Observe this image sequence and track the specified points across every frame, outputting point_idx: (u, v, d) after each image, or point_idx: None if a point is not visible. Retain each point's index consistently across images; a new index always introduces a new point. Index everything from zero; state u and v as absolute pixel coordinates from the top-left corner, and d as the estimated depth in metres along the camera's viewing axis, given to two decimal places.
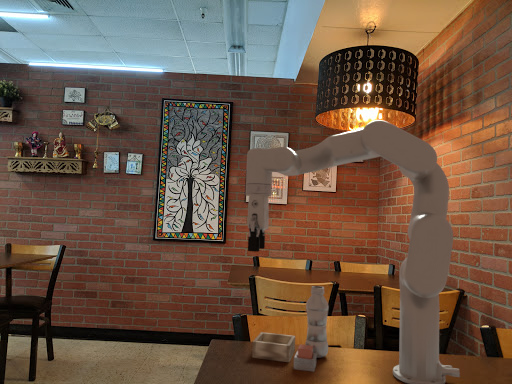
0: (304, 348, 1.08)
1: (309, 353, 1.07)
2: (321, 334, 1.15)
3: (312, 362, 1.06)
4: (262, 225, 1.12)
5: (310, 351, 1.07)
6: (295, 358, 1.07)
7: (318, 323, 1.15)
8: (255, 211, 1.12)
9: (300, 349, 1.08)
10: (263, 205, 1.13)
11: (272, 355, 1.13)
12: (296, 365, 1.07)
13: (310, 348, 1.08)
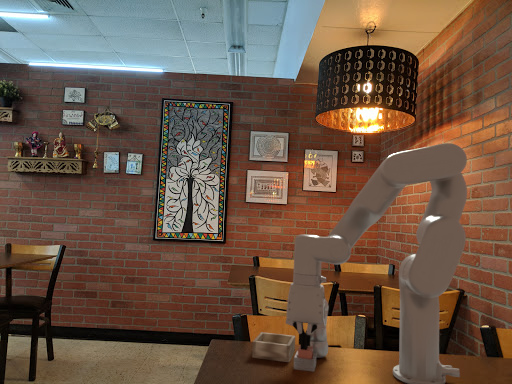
0: (304, 349, 1.08)
1: (309, 354, 1.07)
2: (321, 334, 1.15)
3: (312, 362, 1.06)
4: None
5: (310, 352, 1.07)
6: (295, 358, 1.07)
7: None
8: (324, 309, 1.09)
9: (300, 350, 1.08)
10: None
11: (272, 355, 1.13)
12: (296, 365, 1.07)
13: (310, 349, 1.08)
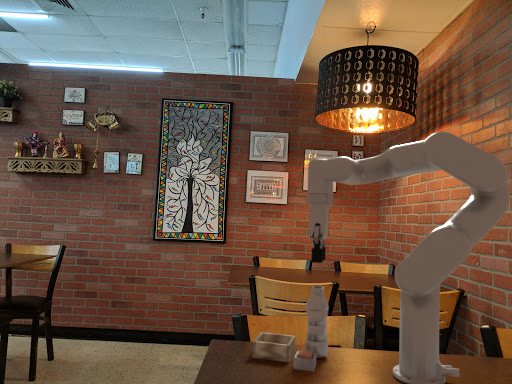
0: (304, 353, 1.08)
1: None
2: (321, 334, 1.15)
3: (312, 362, 1.06)
4: None
5: (310, 357, 1.07)
6: (295, 358, 1.07)
7: (318, 323, 1.15)
8: None
9: (300, 355, 1.08)
10: None
11: (272, 355, 1.13)
12: (296, 365, 1.07)
13: (310, 354, 1.08)
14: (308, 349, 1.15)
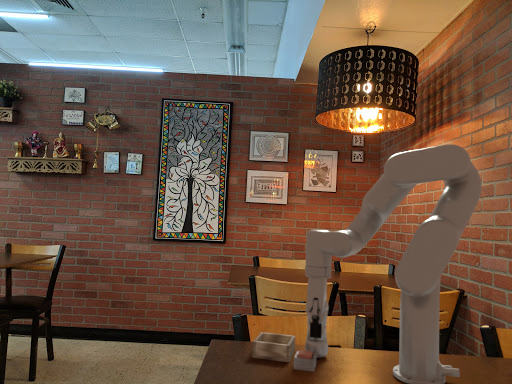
0: (304, 353, 1.08)
1: None
2: (321, 334, 1.15)
3: (312, 362, 1.06)
4: None
5: (310, 357, 1.07)
6: (295, 358, 1.07)
7: None
8: None
9: (300, 355, 1.08)
10: None
11: (272, 355, 1.13)
12: (296, 365, 1.07)
13: (310, 354, 1.08)
14: (308, 349, 1.15)
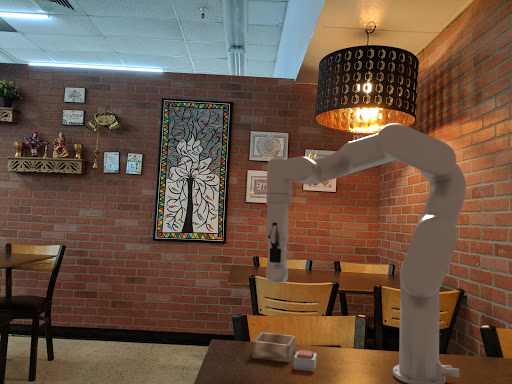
0: (304, 353, 1.08)
1: None
2: None
3: (312, 362, 1.06)
4: None
5: (310, 357, 1.07)
6: (295, 358, 1.07)
7: None
8: None
9: (300, 355, 1.08)
10: None
11: (272, 355, 1.13)
12: (296, 365, 1.07)
13: (310, 354, 1.08)
14: (268, 274, 1.17)
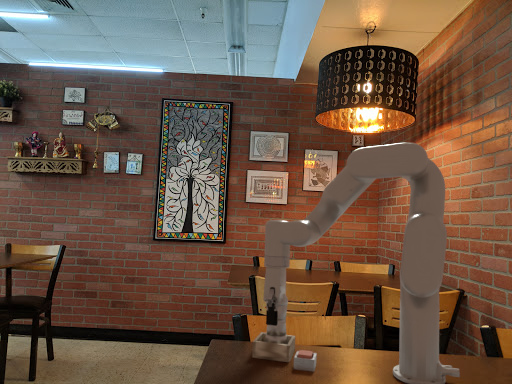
0: (304, 353, 1.08)
1: None
2: (280, 328, 1.16)
3: (312, 362, 1.06)
4: None
5: (310, 357, 1.07)
6: (295, 358, 1.07)
7: None
8: None
9: (300, 355, 1.08)
10: None
11: (272, 355, 1.13)
12: (296, 365, 1.07)
13: (310, 354, 1.08)
14: None
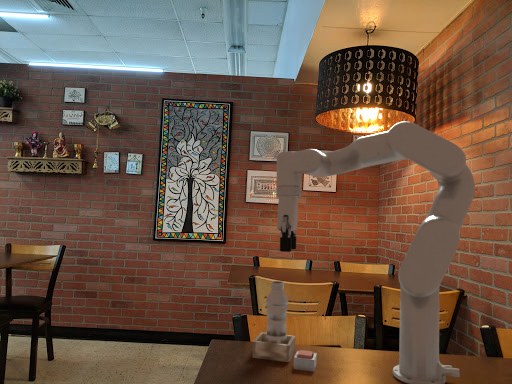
0: (304, 353, 1.08)
1: None
2: (280, 328, 1.16)
3: (312, 362, 1.06)
4: None
5: (310, 357, 1.07)
6: (295, 358, 1.07)
7: (277, 317, 1.16)
8: None
9: (300, 355, 1.08)
10: None
11: (272, 355, 1.13)
12: (296, 365, 1.07)
13: (310, 354, 1.08)
14: None
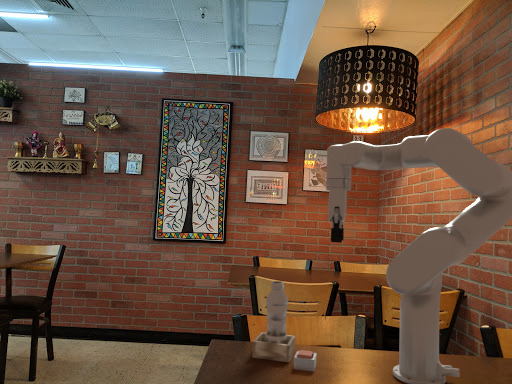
0: (304, 353, 1.08)
1: None
2: (280, 328, 1.16)
3: (312, 362, 1.06)
4: None
5: (310, 357, 1.07)
6: (295, 358, 1.07)
7: (277, 317, 1.16)
8: None
9: (300, 355, 1.08)
10: None
11: (272, 355, 1.13)
12: (296, 365, 1.07)
13: (310, 354, 1.08)
14: None
